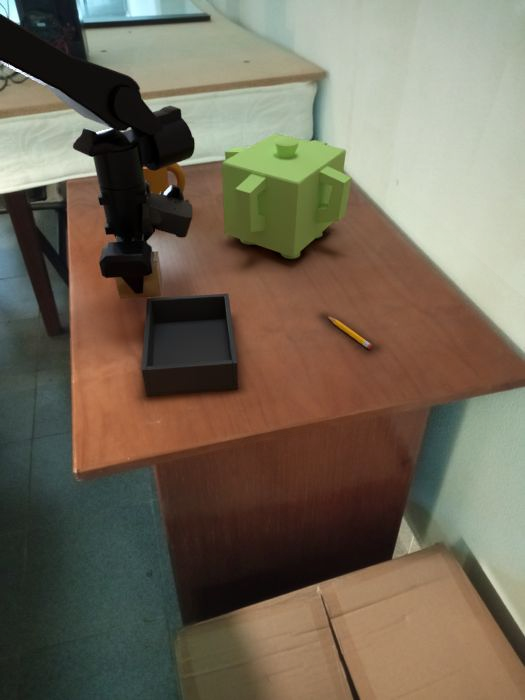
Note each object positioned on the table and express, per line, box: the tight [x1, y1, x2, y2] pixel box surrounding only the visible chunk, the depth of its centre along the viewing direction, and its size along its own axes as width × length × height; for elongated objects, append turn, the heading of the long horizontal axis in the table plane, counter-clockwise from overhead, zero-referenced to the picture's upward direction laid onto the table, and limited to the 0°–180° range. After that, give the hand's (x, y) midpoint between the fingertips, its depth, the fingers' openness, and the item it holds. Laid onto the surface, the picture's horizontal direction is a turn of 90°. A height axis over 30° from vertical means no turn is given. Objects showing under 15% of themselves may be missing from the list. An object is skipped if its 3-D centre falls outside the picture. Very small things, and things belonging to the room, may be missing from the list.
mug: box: [143, 163, 186, 194], centre depth 96 cm, size 9×12×9 cm
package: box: [114, 250, 163, 300], centre depth 72 cm, size 6×4×5 cm
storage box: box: [221, 132, 353, 260], centre depth 84 cm, size 25×23×17 cm
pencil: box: [327, 315, 373, 351], centre depth 70 cm, size 1×9×1 cm, turn 37°
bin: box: [141, 293, 239, 397], centre depth 65 cm, size 11×14×4 cm
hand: (140, 283), depth 73 cm, fingers closed on package, 4 cm apart
